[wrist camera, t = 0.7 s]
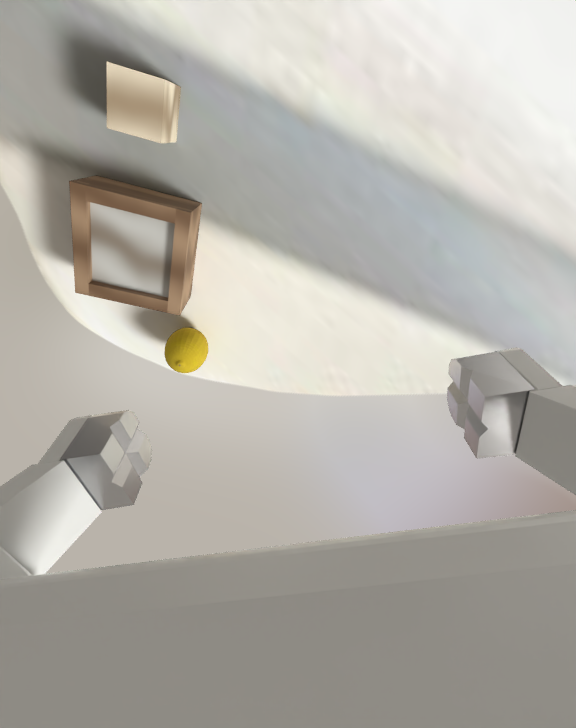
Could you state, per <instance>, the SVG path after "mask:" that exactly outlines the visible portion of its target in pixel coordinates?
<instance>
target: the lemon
mask: <svg viewBox="0 0 576 728" xmlns="http://www.w3.org/2000/svg"><path fill="white" fill-rule="evenodd" d="M207 354H208V343H207V340H206V338H205V336H204V335H203V334H202V333H201V332H200V331H198V330H196V329H193V328H182V329H179V330H177V331H175V332H174V333H173V334H172V335H171V336H170V337H169V339H168V340H167V343H166V346H165V358H166V361H167V363H168V365H169V366H170V367H171V368H172V369H174V370H175V371H177V372H181V373H189V372H193V371H195V370H197V369H198V368H199V367H200V366H201V365H202V364H203V363H204V361H205V359H206V357H207Z"/></svg>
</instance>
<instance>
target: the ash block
mask: <svg viewBox="0 0 576 728" xmlns="http://www.w3.org/2000/svg"><path fill="white" fill-rule="evenodd" d="M180 90H181V87H180V86H178V85H175V84H173V83H171V82H169V81H167V80H165V79H162V78H158V77H155V76H152V75H149V74H145V73H142V72H139V71H136V70H133V69H129V68H126V67H123V66H120V65H116V64H113V63H110V62H107V128H109V129H113V130H116V131H120V132H123V133H127V134H130V135H134V136H137V137H141V138H144V139H148V140H151V141H155V142H158V143H173V142H176V140H177V127H178V115H179V103H180Z"/></svg>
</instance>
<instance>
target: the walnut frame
mask: <svg viewBox="0 0 576 728" xmlns="http://www.w3.org/2000/svg"><path fill="white" fill-rule="evenodd" d="M69 184H70V203H71V221H72V239H73V258H74V276H75V293H80V294H84V295H89V296H93V297H98V298H102V299H107V300H112V301H116V302H121V303H125V304H130V305H134V306H139V307H144V308H148V309H153V310H157V311H162V312H166V313H171V314H175V315H180V314H181V312H182V311H183V309H184V307H185V305H186V304H187V302H188V300H189V298H190V296H191V289H192V281H193V272H194V264H195V256H196V248H197V239H198V231H199V223H200V215H201V206H202V203H198V202H195V201H191V200H187V199H183V198H180V197H176V196H172V195H168V194H164V193H161V192H157V191H153V190H149V189H146V188H142V187H138V186H134V185H130V184H127V183H123V182H119V181H115V180H112V179H108V178H104V177H100V176H91V177H87V178H82V179H77V180H73V181H69Z"/></svg>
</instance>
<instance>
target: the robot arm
mask: <svg viewBox="0 0 576 728" xmlns="http://www.w3.org/2000/svg"><path fill="white" fill-rule="evenodd" d="M449 375H450V377H451V378H452V380H453V382H452V384H451V385H450V386H449V387H448V392H447V400H448V406H449V410H450V413H451V416H452V418H453V420H454V421H455V423H456V425H458V426H460V427H461V428H463V429H465V433H464V438H465V440H466V442H467V443H468V445H469V446H470V448H471V450H472V452H473V453H474V455H475V457H476V458H486V457H496V456H505V455H514V454H516V455H515V456H516V457H518V458H519V459H521V460H522V461H524V462H525V463H527V464H528V465H530V466H532V467H533V468H535V469H536V470H538V471H539V472H541V473H542V474H544V475H545V476H547V477H548V478H550V479H552V480H553V481H555V482H556V483H558V484H559V485H561V486H562V487H564V488H566V489H567V490H568V491H570V492H572V493H574V494H575V495H576V387H575V386H572V385H567V386H562V385H561V384H560V383H559V382H558V381H557V380H555V379H554V378H553V377H552V376H551V375H550V374H549V373H548V372H547V371H545V370H544V369H543V368H542V367H541V366H540V365H539V364H538V363H537V362H535V361H534V360H533V359H532V358H531V357H530V356H529V355H528V354H527V353H525V352H524V351H523V350H522V349H520V348H511V349H506V350H500V351H495V352H492V353H486V354H481V355H475V356H469V357H463V358H457V359H451V362H450V364H449ZM138 425H139V420H138V418H137V417H136V415H135V413H134V412H132V411H129V410H126V411H119V412H111V413H104V414H98V415H93V416H92V415H90V416H84V417H77V418H74V419H72V420H70V421H69V422H68V424H67V425H66V426H65V428H64V429H63V430H62V432H61V433H60V434H59V436H58V437H57V438H56V440H55V441H54V442H53V444H52V445H51V447H50V448H49V449H48V451H47V452H46V453H45V455H44V456H43V457H42V459H41V460H40V462H39V463H38V464H35V465H31V466H29V467H28V468H27V469H25V470H24V471H22V472H21V473H19V474H18V475H16V476H15V477H14V478H12V479H10V480H9V481H8V482H6V483H5V484H3V485H2V486H0V728H576V510H573V511H564V512H557V513H548V514H539V515H531V516H524V517H514V518H506V519H498V520H490V521H481V522H473V523H464V524H456V525H449V526H439V527H431V528H423V529H415V530H406V531H398V532H390V533H381V534H374V535H365V536H357V537H348V538H340V539H333V540H323V541H315V542H307V543H299V544H290V545H282V546H274V547H265V548H257V549H249V550H241V551H232V552H224V553H215V554H207V555H198V556H190V557H182V558H174V559H165V560H157V561H149V562H141V563H132V564H124V565H115V566H107V567H99V568H91V569H83V570H74V571H66V572H57V573H49V574H45V573H46V572H47V571H48V570H49V569H50V568H51V566H52V565H53V564H54V563H55V562H56V561H57V560H58V559H59V558H60V557H61V555H62V554H63V553H64V552H65V551H66V550H67V549H68V548H69V547H70V546H71V545H72V544H73V543H74V542H75V540H76V539H77V538H78V537H79V536H80V535H81V534H82V533H83V532H84V531H85V530H86V528H87V527H88V526H89V525H90V524H91V523H92V522H93V521H94V520H95V519H96V517H97V516H98V515H99V514H100V513H101V512H102V511H101V510H106V509H112V508H118V507H124V506H130V505H134V503H135V500H136V498H137V495H138V493H139V490H140V488H141V485H142V481H141V479H140V476H141V475H142V474H143V473H144V472H145V471H146V470H147V469H148V468H149V465H150V462H151V455H152V449H151V444H150V441H149V439H148V437H147V435H146V434H145V433H143V432H142V431H140V430H139V429H137V427H138Z"/></svg>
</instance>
